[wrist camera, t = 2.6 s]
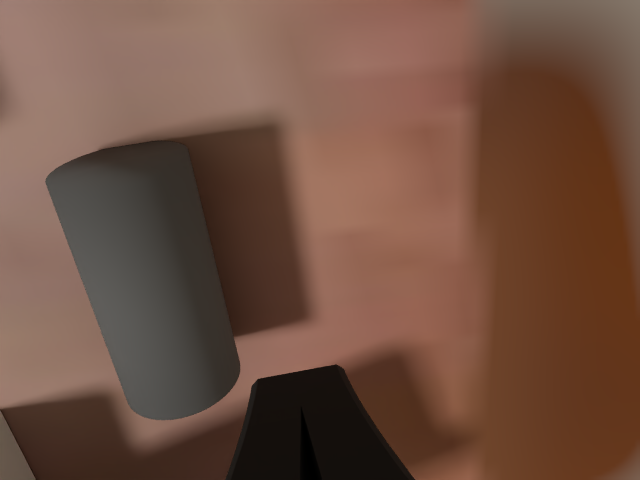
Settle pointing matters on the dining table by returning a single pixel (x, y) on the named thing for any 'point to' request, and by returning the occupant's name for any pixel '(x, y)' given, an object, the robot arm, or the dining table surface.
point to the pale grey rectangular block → (12, 456)
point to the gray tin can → (149, 274)
